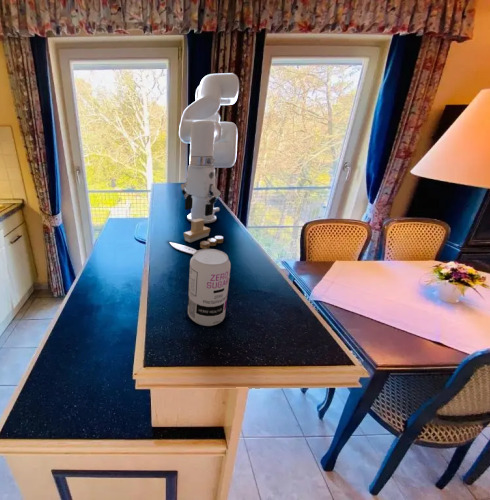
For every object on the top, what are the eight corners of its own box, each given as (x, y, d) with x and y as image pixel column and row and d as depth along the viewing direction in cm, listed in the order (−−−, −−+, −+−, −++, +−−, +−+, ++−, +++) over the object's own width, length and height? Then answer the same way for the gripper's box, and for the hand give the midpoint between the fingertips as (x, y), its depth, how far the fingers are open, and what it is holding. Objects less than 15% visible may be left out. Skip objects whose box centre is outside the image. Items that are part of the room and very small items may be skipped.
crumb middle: (211, 241, 100) (211, 237, 100) (218, 244, 98) (218, 240, 97) (205, 243, 98) (205, 239, 98) (212, 246, 96) (212, 242, 95)
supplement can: (199, 300, 68) (203, 244, 62) (231, 314, 63) (238, 254, 57) (180, 317, 62) (182, 257, 56) (212, 333, 58) (218, 270, 51)
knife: (168, 239, 100) (188, 236, 102) (168, 244, 100) (188, 241, 102) (205, 279, 73) (231, 274, 75) (204, 284, 74) (231, 279, 76)
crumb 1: (204, 244, 98) (204, 240, 98) (211, 247, 96) (211, 242, 95) (198, 246, 96) (198, 242, 96) (205, 249, 94) (205, 245, 93)
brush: (203, 233, 107) (204, 215, 104) (209, 235, 105) (211, 218, 102) (183, 240, 101) (184, 222, 98) (189, 243, 99) (190, 224, 96)
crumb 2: (217, 239, 102) (218, 234, 102) (224, 241, 100) (225, 237, 99) (212, 241, 100) (212, 237, 100) (219, 244, 98) (219, 239, 98)
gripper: (229, 163, 87) (224, 215, 94) (190, 158, 100) (188, 205, 107) (213, 165, 83) (209, 220, 90) (174, 160, 95) (173, 208, 102)
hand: (198, 212), depth 98 cm, fingers open, 9 cm apart
